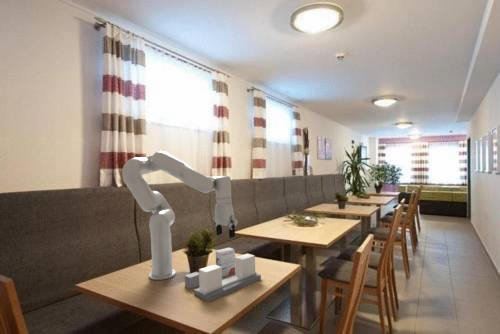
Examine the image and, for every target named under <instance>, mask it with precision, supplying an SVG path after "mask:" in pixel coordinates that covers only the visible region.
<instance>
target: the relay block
mask: <svg viewBox="0 0 500 334" xmlns="http://www.w3.org/2000/svg"><path fill="white" fill-rule="evenodd" d="M184 287H185V288H187V289H189V290H191V289H194V288H196V287H199V271H194V272H192V273H187V274H185V275H184Z"/></svg>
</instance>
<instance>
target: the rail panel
mask: <svg viewBox="0 0 500 334" xmlns="http://www.w3.org/2000/svg"><path fill="white" fill-rule="evenodd" d="M198 273H199V286H198V288H195V289H193V295H194V296H196V297H199V298H201V299H203V300H204V301H207V302H208V303H209V302H212V301H214V300H216V299H219V298H222V297H224V296H226V295H228V294H230V293H233V292H235V291H237V290H239V289H242V288H244V287H247V286H248V285H251V284H254V283H256V282H258V281H260V280H262V276H261V274H259V273H257V271H256V256H255V254H254V255H253V254H250V253H245V254H241V255H240V256H235V272H234V273H233V274H232V275H231V274H230V275H229V276H225V277H222V267H220V266H218V265H216V263H215V264H212V265H208V266H206V267H203V268H199V269H198Z"/></svg>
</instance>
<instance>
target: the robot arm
mask: <svg viewBox="0 0 500 334" xmlns="http://www.w3.org/2000/svg"><path fill="white" fill-rule="evenodd" d="M159 171H162V172H164V173H166V174H168V175H170V176H172V177H173V178H175V179H178V180H179V182H180V181H181V182H182V183H184V184H185V185H187V186H189V187H190V188H193V189H194V190H197V191H198V192H201V193H205V194H208V193H210V192H212V191H215V201H216V204H215V205H214V216H213V217H212V219H213V224H214V225H215V226H214V227H215V229H216V231H215V233H216V235H217V236H221V235H222V234H223V226H225V227H226V226H227V227H228V228H229V229H228V234H229V236H228V237H229V239H233V238H235V237H236V228H237V227H238V223H239V222H238V219H237V218H236V217H235V213H234V206H233V203H232V181H231V177H230V176H228V175H219V176H210V175H208V176H207V175H204V174H201V173H199V172H198V171H196V170H195V169H193V168H192V167H191V166H190V165H189V164H188V163H186V162H185V161H183V160H181V159H179V158H176V157H175V156H173V155H172V154H171V153H170V152H168V151H162V150H160V151H159V150H158V151H156V152H154V153H153V154H152V155H148V156H145V157H132V158H130V159H128V160H127V161H126V162H125V163H124V166H123V167H122V172H121V175H122V179H123V181H124V183H125V185H126V187H127V188H128V189H129V191H130V193H131V194H132V197H133V198H134V199H135V200H136V201H135V202H137V204H138V206H139V207H140V209H141V210H142V211H144V212H147V213H152V215H151V216H150V218H149V222H148V227H149V231H150V244H151V246H150V247H151V251H150V252H151V265H150V268H151V271H150V272H149V274H148V279H150V280H155V281H159V280H160V281H162V280H167V279H170V278H172V277H174V276H175V275H176V274H177V273H176V270H175V269H174V268H173V250H172V249H173V248H172V233H171V226H172V225H173V223H174V222H175V218H176V215H175V212H174V210H173V208H172V207H171V206H170V204H169V203H168V201H167V199H166V198H165V197H164V195H163V194H162V193H161V192H159V191H156V190H152V188H151V187H150V186H149V184H148V182H147V180H145V179H144V177H143V176H142V175H148V174H151V173H154V172H159Z"/></svg>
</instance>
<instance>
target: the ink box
mask: <svg viewBox="0 0 500 334" xmlns="http://www.w3.org/2000/svg"><path fill="white" fill-rule="evenodd" d="M235 257H236V252H235V249H234V248H232V247H225V248H222V249H217V250H215V265H218V266H220V267H222V278H224V277H227V276H228V275H231V274H235Z"/></svg>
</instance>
